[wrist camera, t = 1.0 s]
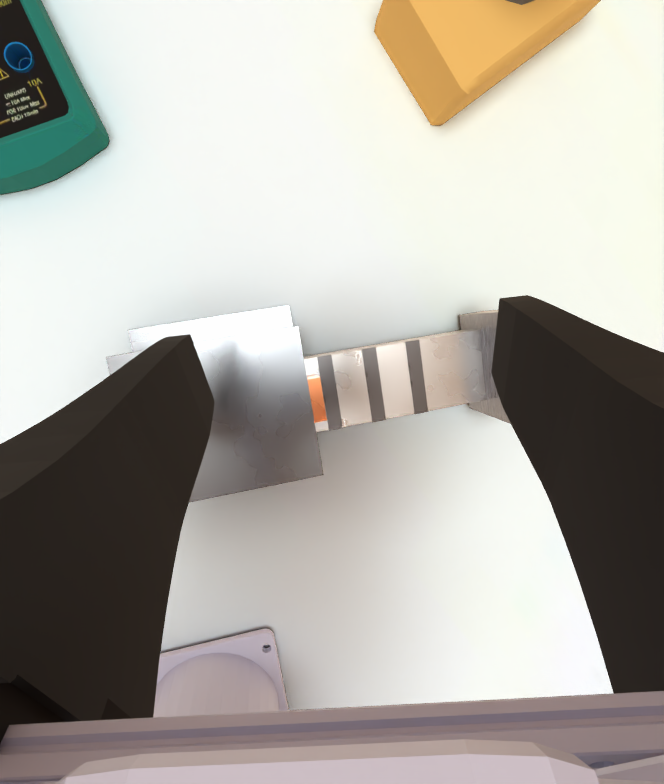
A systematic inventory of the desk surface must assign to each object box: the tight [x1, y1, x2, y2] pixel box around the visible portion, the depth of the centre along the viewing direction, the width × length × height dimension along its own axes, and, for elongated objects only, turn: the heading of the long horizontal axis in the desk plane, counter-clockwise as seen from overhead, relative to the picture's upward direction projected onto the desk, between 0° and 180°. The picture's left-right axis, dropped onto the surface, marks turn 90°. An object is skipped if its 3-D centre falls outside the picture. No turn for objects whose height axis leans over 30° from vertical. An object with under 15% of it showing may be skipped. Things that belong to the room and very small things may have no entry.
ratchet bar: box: [304, 310, 511, 432], centre depth 21 cm, size 5×19×5 cm, turn 99°
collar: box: [106, 305, 327, 502], centre depth 21 cm, size 9×9×4 cm
